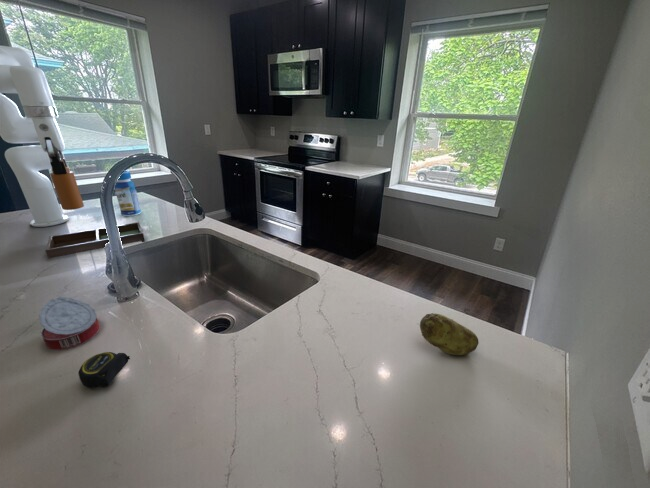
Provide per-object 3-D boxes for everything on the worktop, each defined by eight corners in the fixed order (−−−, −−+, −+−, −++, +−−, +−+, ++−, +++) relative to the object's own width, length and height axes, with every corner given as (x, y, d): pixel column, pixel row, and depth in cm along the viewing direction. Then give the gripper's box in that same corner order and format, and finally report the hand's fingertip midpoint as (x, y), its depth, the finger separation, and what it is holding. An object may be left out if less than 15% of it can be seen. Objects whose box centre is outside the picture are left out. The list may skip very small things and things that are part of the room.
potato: (474, 370, 63) (484, 342, 60) (413, 349, 69) (419, 321, 65) (475, 345, 70) (484, 318, 67) (420, 327, 75) (426, 301, 72)
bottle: (63, 206, 105) (44, 155, 97) (84, 203, 108) (68, 154, 100) (61, 211, 100) (42, 157, 93) (83, 208, 103) (66, 156, 96)
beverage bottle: (145, 213, 143) (135, 171, 135) (127, 218, 137) (115, 174, 128) (136, 209, 147) (125, 169, 139) (117, 214, 141) (105, 171, 132)
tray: (52, 245, 110) (49, 236, 108) (140, 230, 125) (138, 222, 124) (49, 259, 100) (45, 250, 98) (145, 241, 115) (143, 233, 114)
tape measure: (109, 393, 56) (103, 378, 54) (73, 390, 56) (67, 376, 54) (132, 364, 62) (128, 350, 60) (100, 362, 62) (95, 348, 61)
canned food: (90, 334, 76) (102, 297, 76) (97, 353, 69) (110, 312, 69) (29, 335, 67) (41, 294, 67) (30, 357, 60) (44, 310, 60)
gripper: (54, 114, 87) (74, 176, 95) (59, 111, 99) (77, 167, 107) (19, 113, 83) (43, 179, 91) (29, 111, 95) (49, 168, 103)
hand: (61, 172), depth 99 cm, fingers closed on bottle, 4 cm apart
